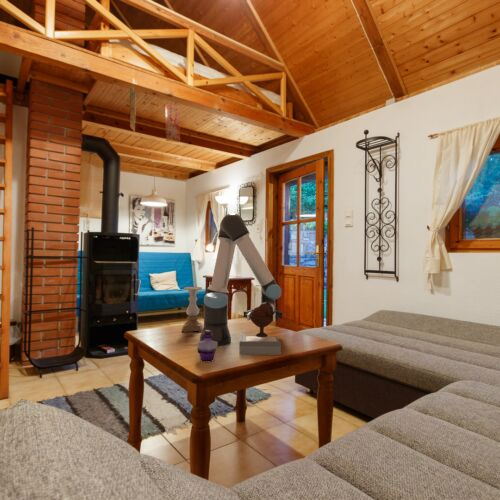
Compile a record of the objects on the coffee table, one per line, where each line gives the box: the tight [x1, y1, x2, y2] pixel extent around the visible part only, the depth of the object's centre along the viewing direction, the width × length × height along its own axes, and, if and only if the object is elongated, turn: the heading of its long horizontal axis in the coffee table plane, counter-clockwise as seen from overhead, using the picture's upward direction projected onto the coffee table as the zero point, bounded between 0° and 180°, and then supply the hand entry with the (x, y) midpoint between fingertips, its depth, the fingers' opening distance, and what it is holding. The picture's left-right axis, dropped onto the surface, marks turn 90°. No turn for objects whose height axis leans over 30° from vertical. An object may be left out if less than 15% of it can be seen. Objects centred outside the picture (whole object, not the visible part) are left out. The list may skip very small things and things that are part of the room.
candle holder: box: [181, 286, 203, 333], centre depth 195 cm, size 11×11×24 cm
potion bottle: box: [196, 330, 218, 362], centre depth 142 cm, size 9×9×12 cm
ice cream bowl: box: [250, 304, 273, 337], centre depth 160 cm, size 11×11×15 cm
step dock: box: [238, 331, 282, 356], centre depth 159 cm, size 18×18×6 cm
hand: (260, 318), depth 156 cm, fingers closed on ice cream bowl, 11 cm apart
